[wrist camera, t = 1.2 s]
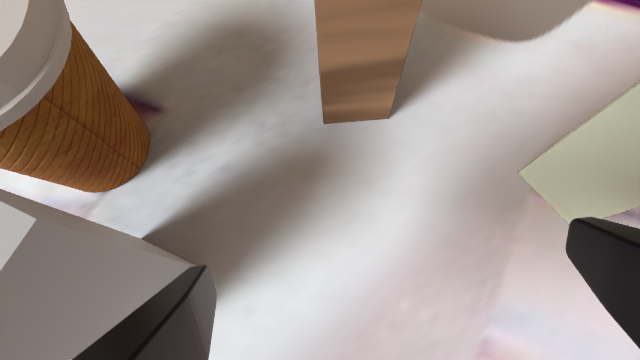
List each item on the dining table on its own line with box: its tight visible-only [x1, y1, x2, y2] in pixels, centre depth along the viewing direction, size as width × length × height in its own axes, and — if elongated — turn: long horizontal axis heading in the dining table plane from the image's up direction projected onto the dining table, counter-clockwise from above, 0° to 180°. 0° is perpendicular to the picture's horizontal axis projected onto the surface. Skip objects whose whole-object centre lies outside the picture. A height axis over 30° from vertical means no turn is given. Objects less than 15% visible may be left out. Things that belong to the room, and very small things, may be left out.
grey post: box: [0, 189, 197, 360], centre depth 16 cm, size 4×4×13 cm
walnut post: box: [315, 0, 422, 124], centre depth 20 cm, size 4×4×13 cm
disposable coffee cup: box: [0, 0, 150, 193], centre depth 19 cm, size 10×10×12 cm
